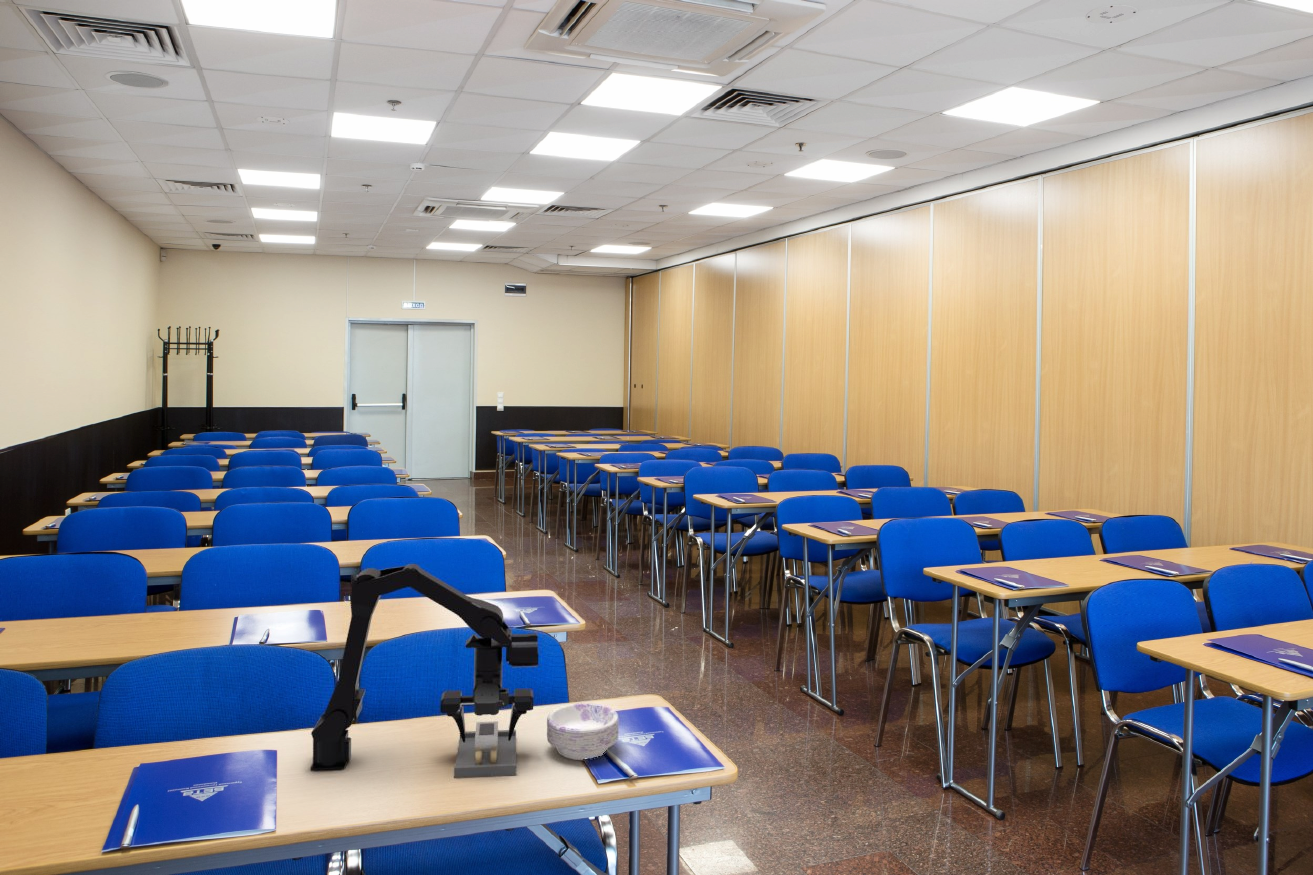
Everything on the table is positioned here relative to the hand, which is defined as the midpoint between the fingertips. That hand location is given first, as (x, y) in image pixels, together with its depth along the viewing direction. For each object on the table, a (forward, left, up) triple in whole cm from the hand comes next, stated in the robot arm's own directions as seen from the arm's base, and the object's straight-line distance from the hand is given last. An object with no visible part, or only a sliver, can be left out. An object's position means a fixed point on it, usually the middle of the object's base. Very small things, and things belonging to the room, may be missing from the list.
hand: (486, 740), depth 179 cm
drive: (0, 0, -2) cm, 2 cm away
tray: (0, 0, -4) cm, 4 cm away
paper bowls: (+20, +1, -4) cm, 20 cm away
